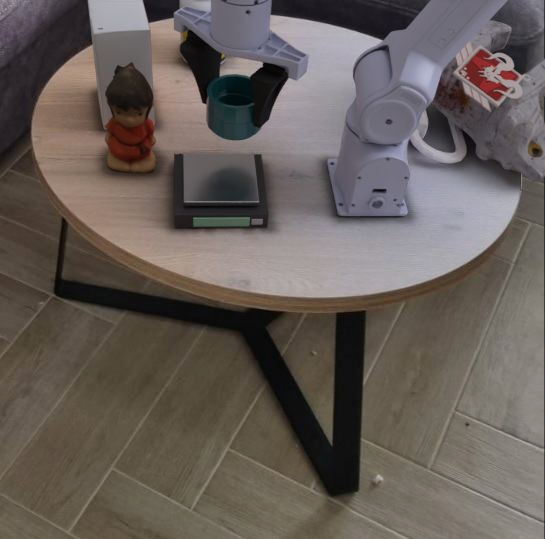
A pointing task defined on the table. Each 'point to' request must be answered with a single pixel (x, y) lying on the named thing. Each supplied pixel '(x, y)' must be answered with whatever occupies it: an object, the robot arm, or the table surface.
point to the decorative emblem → (487, 76)
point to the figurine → (130, 122)
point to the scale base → (219, 214)
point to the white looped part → (433, 153)
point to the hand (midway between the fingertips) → (235, 111)
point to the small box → (119, 44)
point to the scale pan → (219, 179)
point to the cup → (231, 107)
